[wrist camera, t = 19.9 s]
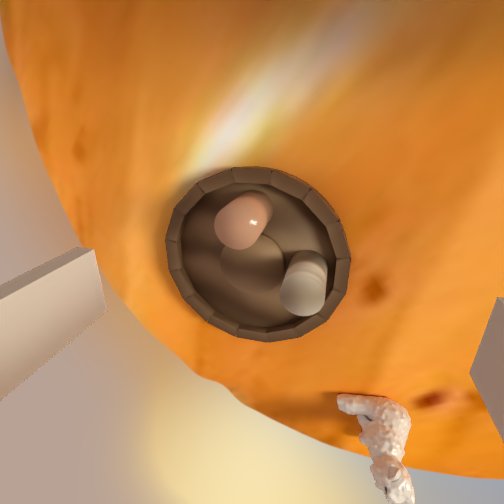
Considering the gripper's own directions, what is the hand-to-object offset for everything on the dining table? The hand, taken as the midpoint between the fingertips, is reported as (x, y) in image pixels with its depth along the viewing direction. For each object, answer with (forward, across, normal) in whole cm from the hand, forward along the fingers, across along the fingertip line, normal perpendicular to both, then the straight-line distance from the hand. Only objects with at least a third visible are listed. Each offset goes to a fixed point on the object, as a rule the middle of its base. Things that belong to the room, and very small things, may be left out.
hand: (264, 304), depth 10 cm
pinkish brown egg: (+26, -7, -4) cm, 27 cm away
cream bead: (+26, 0, -11) cm, 28 cm away
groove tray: (+27, -7, -11) cm, 30 cm away
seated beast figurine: (+27, +11, -33) cm, 44 cm away
